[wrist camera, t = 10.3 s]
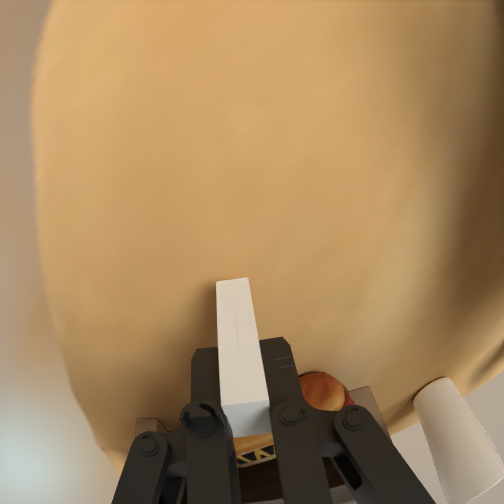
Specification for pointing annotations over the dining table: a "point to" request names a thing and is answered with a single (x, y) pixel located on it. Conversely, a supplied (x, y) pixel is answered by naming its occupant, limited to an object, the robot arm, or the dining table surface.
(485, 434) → the white tapered cylinder
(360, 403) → the gray-topped wooden box
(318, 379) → the hot dog
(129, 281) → the dining table surface
